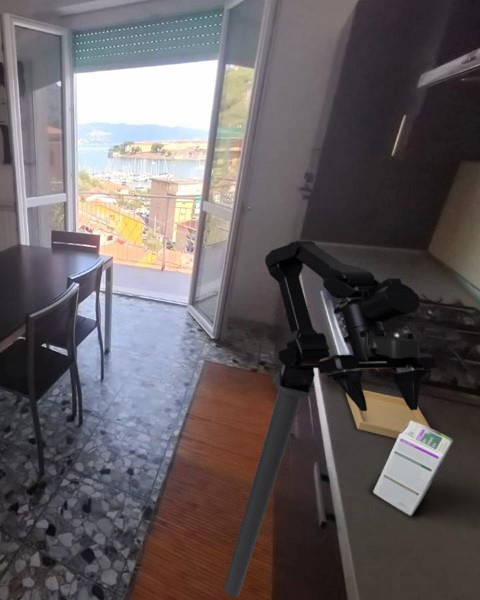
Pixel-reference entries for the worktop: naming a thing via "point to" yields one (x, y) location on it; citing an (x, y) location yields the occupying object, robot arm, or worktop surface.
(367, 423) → the tray
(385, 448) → the worktop surface
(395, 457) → the syrup box
